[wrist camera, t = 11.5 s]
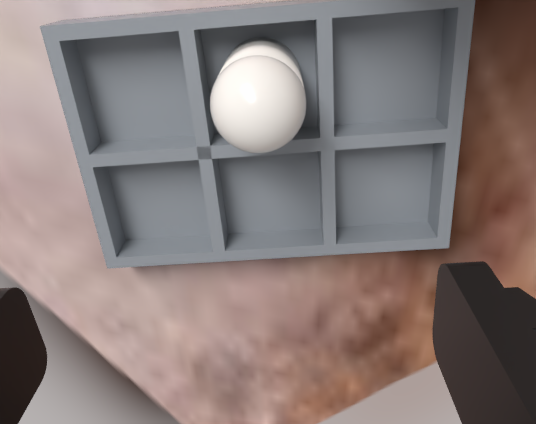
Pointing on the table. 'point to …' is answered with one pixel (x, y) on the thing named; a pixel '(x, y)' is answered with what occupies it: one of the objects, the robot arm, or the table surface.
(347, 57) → the egg tray
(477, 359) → the robot arm
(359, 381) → the table surface
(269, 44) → the egg
